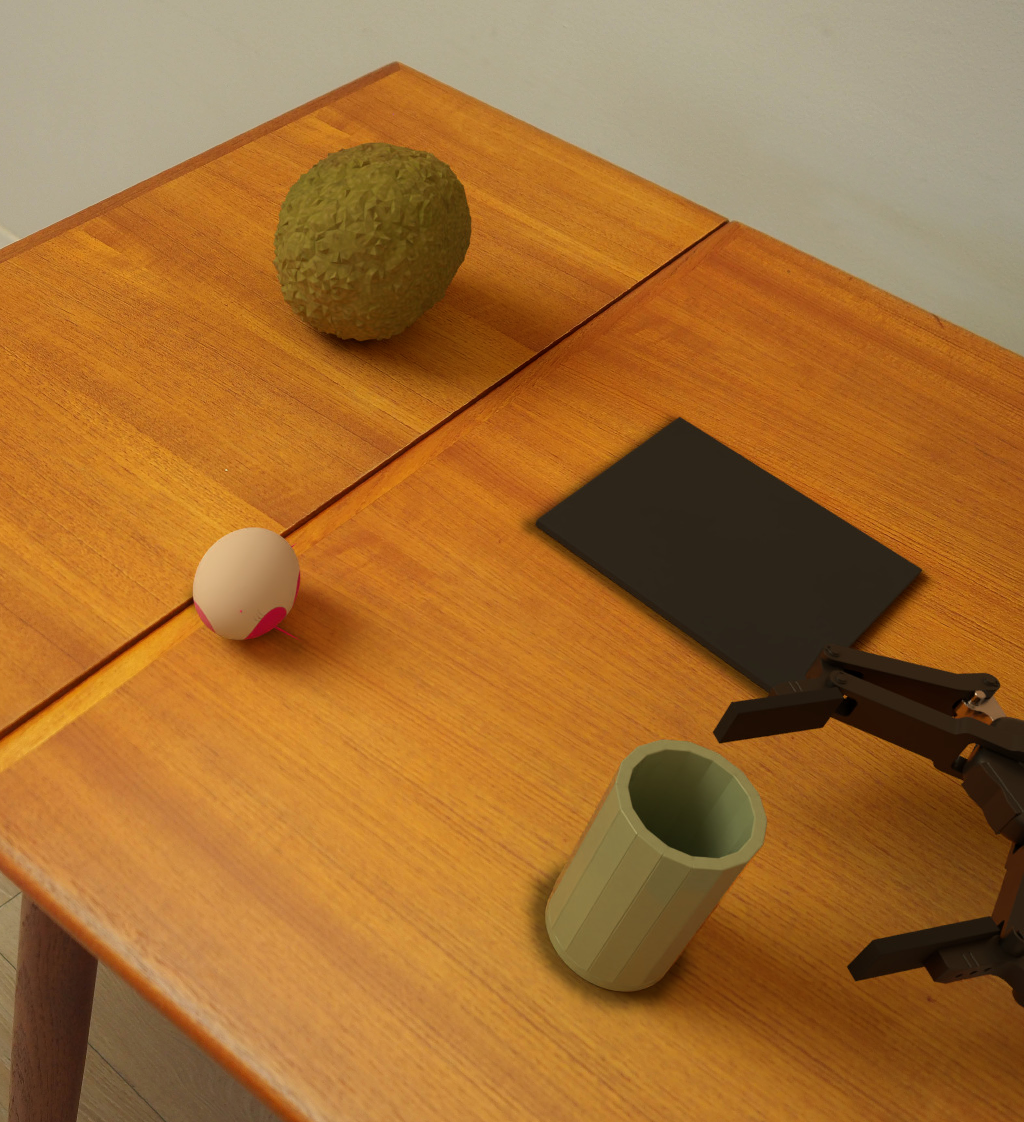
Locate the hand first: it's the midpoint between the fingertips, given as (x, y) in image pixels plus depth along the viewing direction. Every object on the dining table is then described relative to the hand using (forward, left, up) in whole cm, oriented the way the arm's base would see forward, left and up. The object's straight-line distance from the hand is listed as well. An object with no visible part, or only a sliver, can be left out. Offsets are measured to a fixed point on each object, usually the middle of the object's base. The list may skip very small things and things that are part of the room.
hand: (788, 833), depth 63 cm
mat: (+15, -23, -7) cm, 28 cm away
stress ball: (+31, +7, -7) cm, 32 cm away
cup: (+4, +7, -7) cm, 10 cm away
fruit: (+49, -22, -7) cm, 54 cm away
